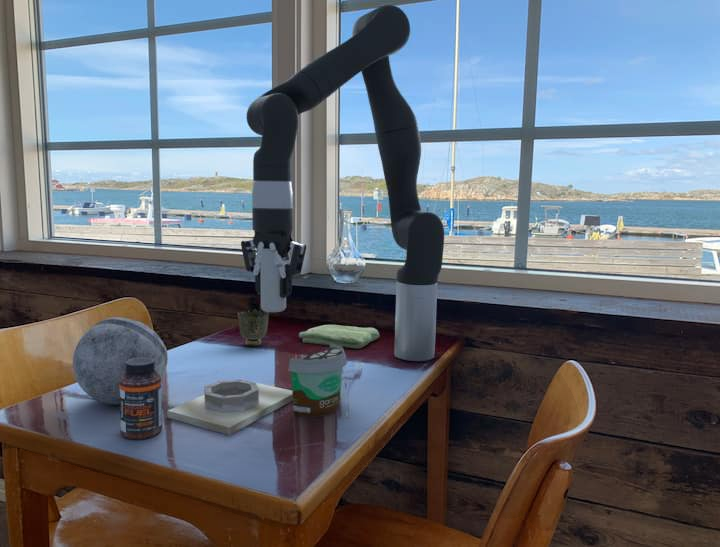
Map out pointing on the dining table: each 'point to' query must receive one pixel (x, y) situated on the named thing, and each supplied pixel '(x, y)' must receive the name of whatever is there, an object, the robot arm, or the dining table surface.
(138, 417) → the supplement bottle
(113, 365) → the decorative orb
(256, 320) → the cup
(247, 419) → the holder board
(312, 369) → the food container
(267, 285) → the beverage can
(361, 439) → the dining table surface
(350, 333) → the washcloth
